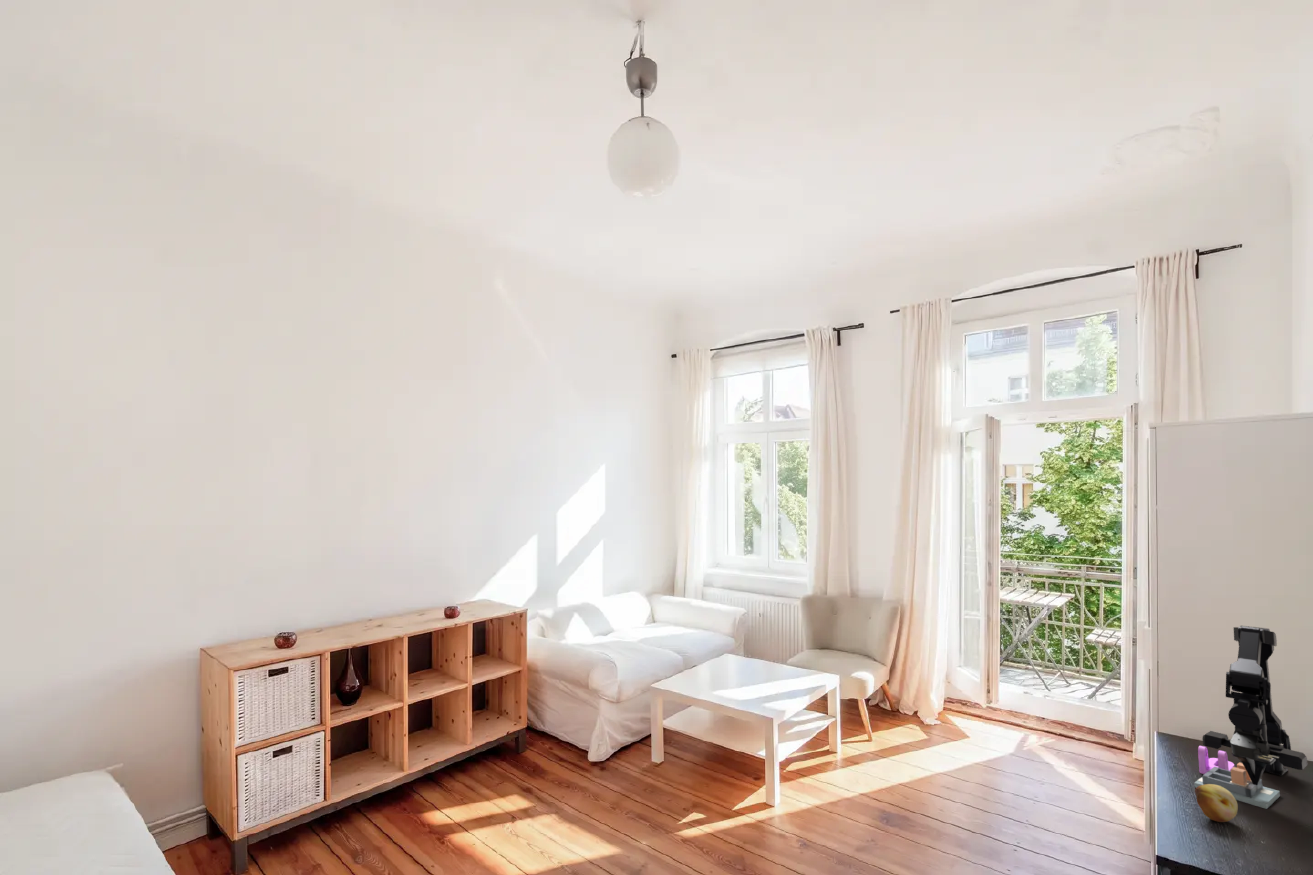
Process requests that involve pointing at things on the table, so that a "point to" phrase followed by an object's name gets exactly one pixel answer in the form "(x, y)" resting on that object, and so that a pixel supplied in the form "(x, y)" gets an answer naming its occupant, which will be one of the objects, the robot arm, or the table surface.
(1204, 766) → the bracket
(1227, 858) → the table surface
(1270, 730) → the robot arm
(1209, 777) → the switch plate
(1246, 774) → the tab
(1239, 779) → the tab
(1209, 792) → the fruit
